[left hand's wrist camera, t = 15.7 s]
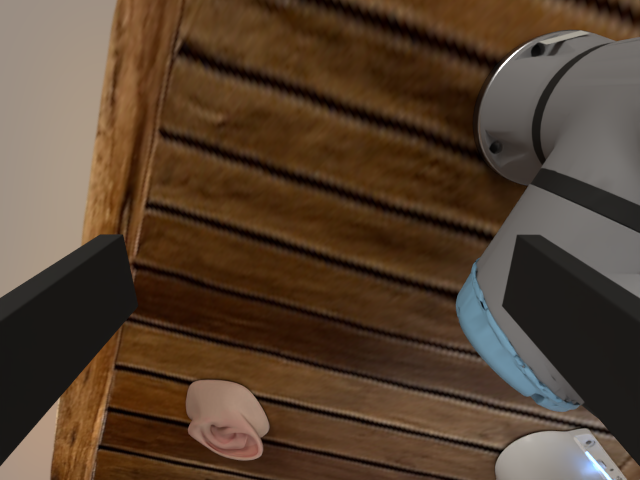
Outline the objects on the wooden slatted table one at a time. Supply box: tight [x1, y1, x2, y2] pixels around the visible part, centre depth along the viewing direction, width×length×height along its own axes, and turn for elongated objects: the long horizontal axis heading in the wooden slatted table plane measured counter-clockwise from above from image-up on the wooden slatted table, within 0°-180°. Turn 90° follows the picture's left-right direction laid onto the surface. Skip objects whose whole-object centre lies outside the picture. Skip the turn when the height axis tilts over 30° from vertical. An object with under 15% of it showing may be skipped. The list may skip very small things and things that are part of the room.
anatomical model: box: [186, 380, 269, 460], centre depth 53 cm, size 13×4×12 cm
